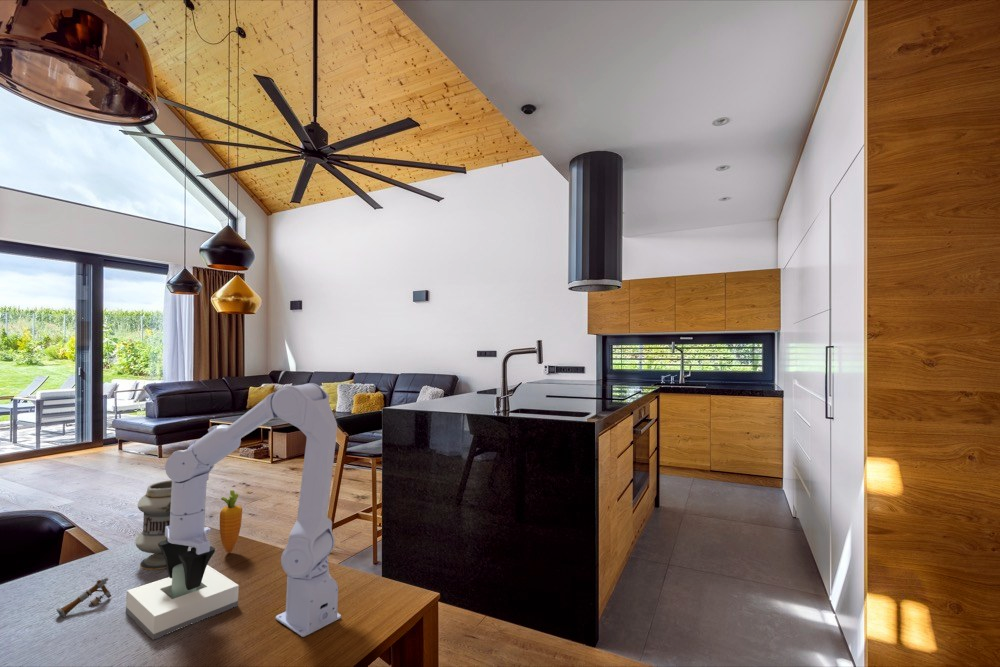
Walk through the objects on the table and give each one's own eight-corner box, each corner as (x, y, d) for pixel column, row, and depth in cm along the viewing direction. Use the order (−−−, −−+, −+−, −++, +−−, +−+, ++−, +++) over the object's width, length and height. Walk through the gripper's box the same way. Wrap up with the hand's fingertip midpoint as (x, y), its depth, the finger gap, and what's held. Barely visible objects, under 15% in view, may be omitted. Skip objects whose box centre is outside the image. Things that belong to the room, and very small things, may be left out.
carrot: (233, 557, 113) (236, 494, 113) (212, 557, 113) (216, 494, 113) (244, 549, 118) (247, 489, 118) (225, 548, 118) (228, 488, 118)
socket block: (237, 605, 92) (238, 585, 92) (153, 640, 80) (154, 616, 81) (206, 583, 100) (207, 564, 100) (125, 612, 89) (126, 590, 89)
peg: (199, 602, 91) (201, 565, 91) (176, 611, 88) (178, 573, 88) (189, 596, 93) (191, 560, 93) (166, 604, 90) (168, 567, 90)
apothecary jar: (151, 551, 115) (156, 477, 116) (205, 548, 117) (209, 476, 118) (121, 574, 103) (126, 491, 104) (181, 570, 105) (186, 490, 106)
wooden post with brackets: (118, 593, 94) (108, 576, 92) (71, 628, 87) (59, 610, 86) (113, 590, 95) (103, 573, 93) (66, 625, 88) (55, 608, 86)
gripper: (228, 512, 90) (224, 584, 90) (193, 498, 98) (190, 564, 98) (187, 523, 84) (183, 600, 84) (154, 507, 93) (150, 576, 92)
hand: (184, 581), depth 90 cm, fingers open, 7 cm apart
